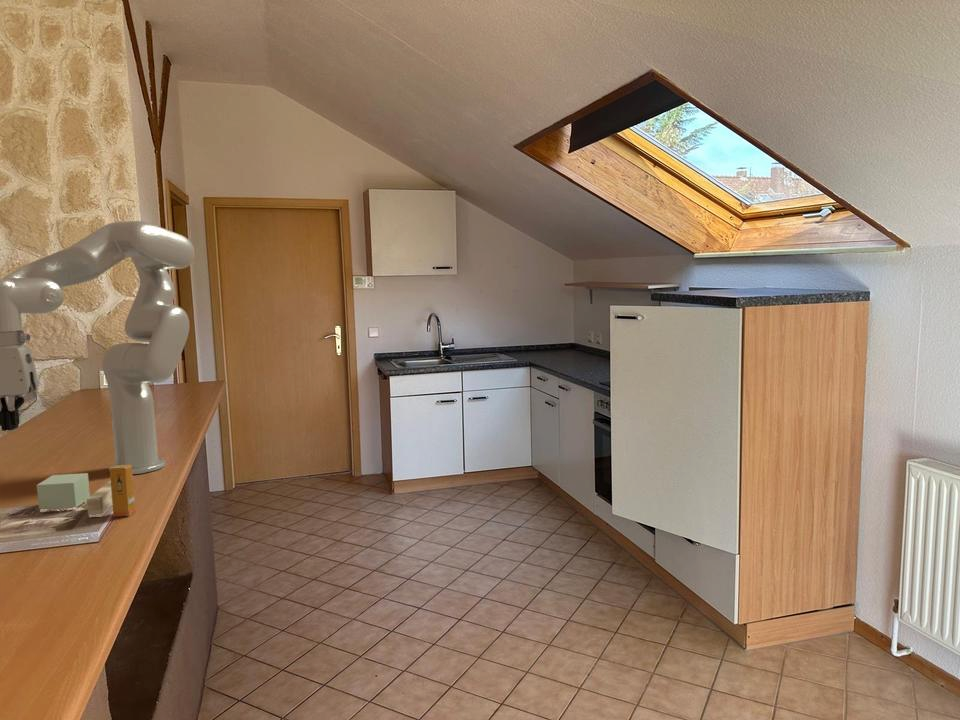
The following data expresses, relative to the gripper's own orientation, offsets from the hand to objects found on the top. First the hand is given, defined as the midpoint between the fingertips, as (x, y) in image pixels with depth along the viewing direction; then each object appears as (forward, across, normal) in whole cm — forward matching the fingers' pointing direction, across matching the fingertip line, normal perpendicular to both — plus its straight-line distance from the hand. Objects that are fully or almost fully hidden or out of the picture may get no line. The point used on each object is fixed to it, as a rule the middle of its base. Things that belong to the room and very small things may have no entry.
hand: (10, 429), depth 139 cm
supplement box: (+17, -24, +8) cm, 30 cm away
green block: (+17, -9, 0) cm, 19 cm away
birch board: (+17, -18, 0) cm, 25 cm away
